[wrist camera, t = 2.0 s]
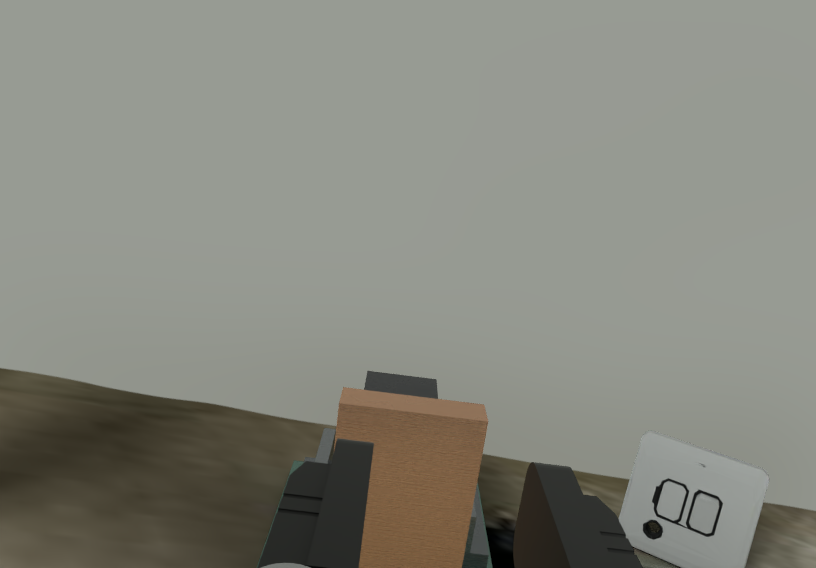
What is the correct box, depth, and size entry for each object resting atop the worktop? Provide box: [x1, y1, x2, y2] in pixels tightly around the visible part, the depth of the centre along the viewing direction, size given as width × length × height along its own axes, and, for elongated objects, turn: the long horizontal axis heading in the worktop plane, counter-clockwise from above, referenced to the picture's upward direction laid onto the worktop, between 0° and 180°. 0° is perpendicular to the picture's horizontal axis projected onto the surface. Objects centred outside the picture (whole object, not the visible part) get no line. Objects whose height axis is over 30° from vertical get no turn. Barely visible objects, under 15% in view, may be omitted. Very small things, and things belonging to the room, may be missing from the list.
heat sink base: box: [257, 371, 492, 568], centre depth 39 cm, size 16×28×13 cm, turn 179°
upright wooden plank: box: [334, 387, 488, 568], centre depth 33 cm, size 6×12×18 cm, turn 179°
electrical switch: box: [619, 430, 769, 568], centre depth 50 cm, size 9×5×9 cm, turn 59°
